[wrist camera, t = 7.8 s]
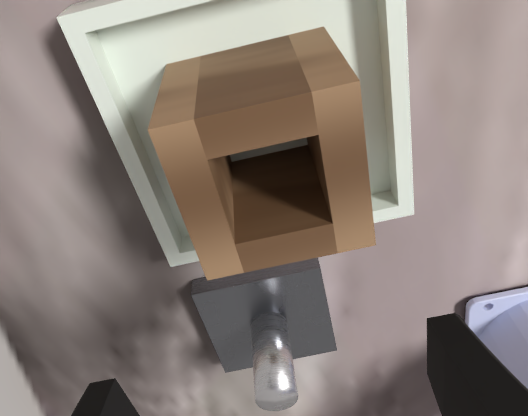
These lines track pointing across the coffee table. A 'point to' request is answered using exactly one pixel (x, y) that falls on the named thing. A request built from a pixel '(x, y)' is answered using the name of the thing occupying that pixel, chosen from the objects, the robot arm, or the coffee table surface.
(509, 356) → the robot arm
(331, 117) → the brown framed cube
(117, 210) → the coffee table surface
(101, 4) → the tray
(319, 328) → the grey base with peg
